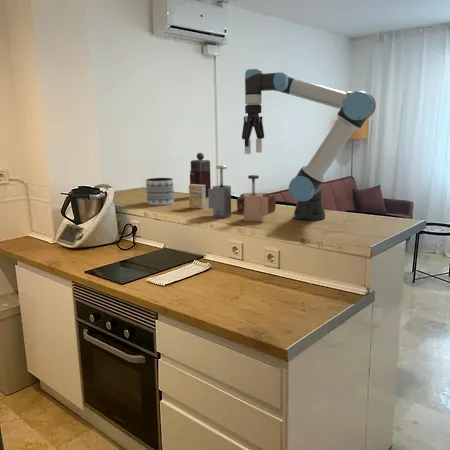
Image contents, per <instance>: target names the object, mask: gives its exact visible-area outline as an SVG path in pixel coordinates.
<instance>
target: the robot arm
mask: <svg viewBox="0 0 450 450" xmlns="http://www.w3.org/2000/svg"><path fill="white" fill-rule="evenodd" d="M244 74H245V75H244V95H245V97H244V100H245V101H244V103H245V104H246V105H244V113H245V114H247V116H243V126H242V133H241V138H242V140H244V154H245V155H250V154H251V151H252V150H251V148H252V147H251V143H252V142H251V139H250V138H251V136H252V131H253V129H254V131H255V134H256V136H255V137H256V138H255V139H256V140H255V152H256V153H262V152H263V141H262V139H264V138H265V132H264V131H265V129H264V125H263V116H260V114H261V113H262V105H261V104H262V102H263V101H262V91H263V92H264V91H267V92H268V91H273V92H274V91H275V92H280V93H283V94H287V95H291V96H293V97H296V98H301V99H303V100H304V99H305V100H308V101H310V102H313V103H314V102H315V103H318V104H322V105H324V106H329V107H332V108H335V109H338V112H337V114H336V115H337V120H336V122H335V123H334V125H333V126H332V128H331V129H330V131H329V132H328V134H327V135H326V137H325V138H324V140H323V141H322V142H321V144H320V146H319V147H318V149H317V150H316V151H315V153H314V155H313V156H312V158H311V159H310V161H309V162H308V164H307V165H305V166H304V165H303V166H302V167H301V168H300V170H299V171H298V173H297V174H296V175H295V177H293V178H292V179H291V180H290V182H289V184H288V191H289V195H290V197H291V198H292V199H294V200H295V201H297V202H296V206H295V208H294V211H293V217H294V219H297V220H301V221H302V220H303V221H317V220H318V221H319V220H323V219H325V218H326V211H325V208H324V204H323V187H324V186H323V183H324V182H325V180H324V175H326V172H327V171H328V170H329V168H330V167H331V165H332V164H333V163H334V162H335V160H336V159H337V156H338V155H339V154H340V152H341V151H342V149H343V148H344V146H345V145H346V143H347V142H348V141H349V139H350V138H351V136H352V135H353V134H354V132H355V131H356V130H360V129H362V127H363V125H364V124H365V123H366V121H367V119H369V118H370V117H371V116H372V115H373V114H374V113H375V111H376V107H377V105H376V104H377V103H376V100H375V98H374V97H373V96H372V95H371V94H370V93H368V92H367V91H364V90H355V91H350V90H349V91H346V92H345V91H342V90H338V89H334V88H330V87H327V86H324V85H319V84H316V83H312V82H309V81H305V80H301V79H297V78H294V77H291V76H288V74H287V72H280V71H279V72H269V73H262V69H259V68H250V69H249V68H248V69H247V70H245V72H244Z"/></svg>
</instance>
